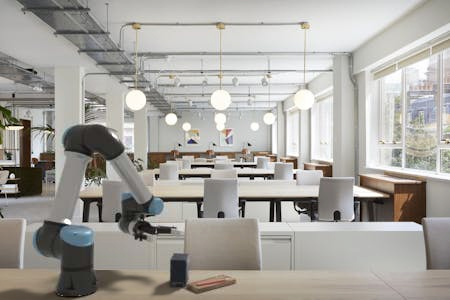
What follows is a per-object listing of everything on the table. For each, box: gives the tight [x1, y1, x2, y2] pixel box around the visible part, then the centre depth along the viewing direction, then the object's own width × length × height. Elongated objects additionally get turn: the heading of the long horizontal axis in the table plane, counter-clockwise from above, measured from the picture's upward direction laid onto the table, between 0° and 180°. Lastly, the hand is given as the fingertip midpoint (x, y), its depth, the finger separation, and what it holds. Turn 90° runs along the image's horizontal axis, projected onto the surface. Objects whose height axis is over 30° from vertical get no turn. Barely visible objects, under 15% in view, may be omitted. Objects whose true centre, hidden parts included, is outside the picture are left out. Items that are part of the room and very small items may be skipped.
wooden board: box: [186, 274, 237, 294], centre depth 168 cm, size 8×18×2 cm, turn 130°
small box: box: [169, 252, 190, 288], centre depth 172 cm, size 11×6×10 cm, turn 179°
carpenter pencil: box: [197, 278, 230, 286], centre depth 166 cm, size 14×1×1 cm, turn 120°
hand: (166, 236), depth 179 cm, fingers open, 13 cm apart
